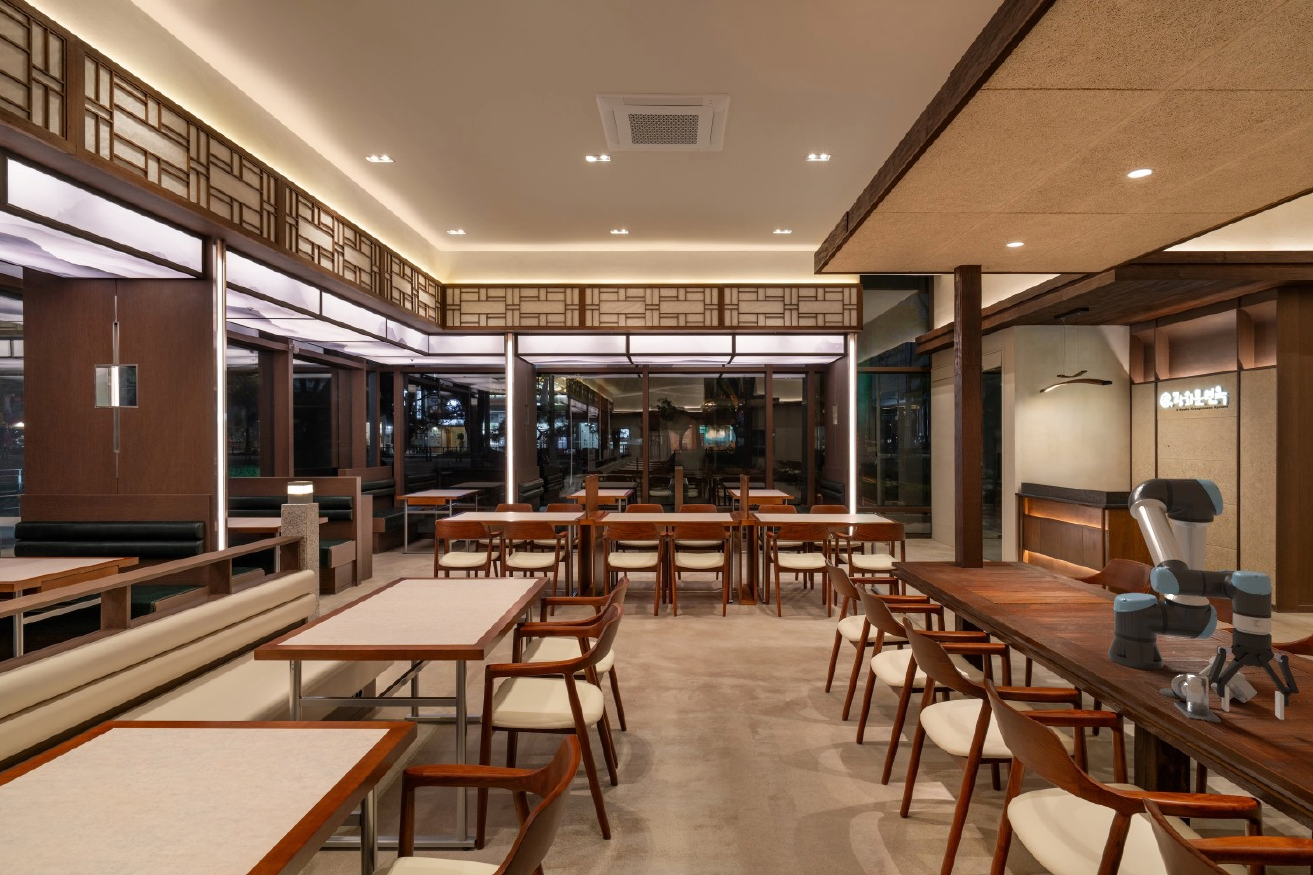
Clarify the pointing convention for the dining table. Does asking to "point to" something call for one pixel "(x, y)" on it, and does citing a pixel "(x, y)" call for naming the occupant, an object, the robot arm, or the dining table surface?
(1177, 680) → the elbow fitting
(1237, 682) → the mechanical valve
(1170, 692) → the grey round disc
